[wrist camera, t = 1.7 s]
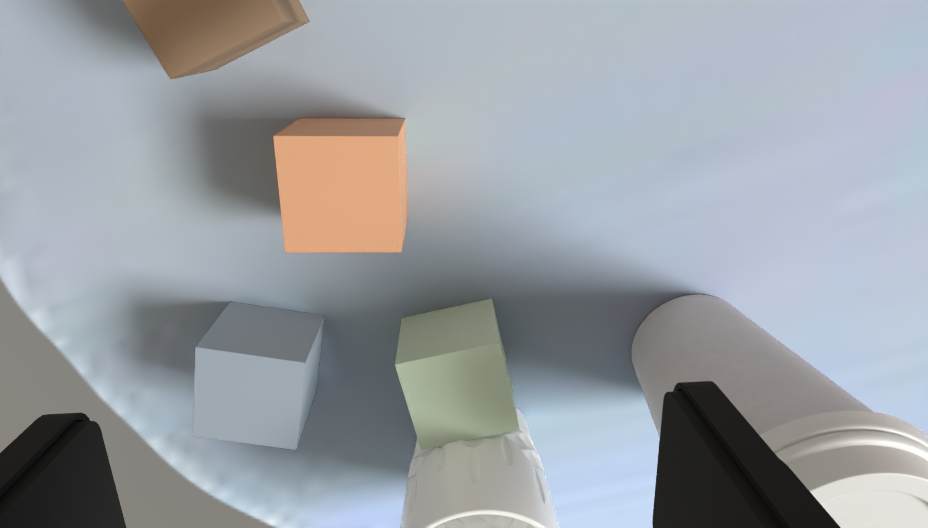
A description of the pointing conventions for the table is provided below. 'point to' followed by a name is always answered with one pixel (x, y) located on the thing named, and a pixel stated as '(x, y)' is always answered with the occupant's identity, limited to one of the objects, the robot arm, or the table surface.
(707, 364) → the coffee cup
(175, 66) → the walnut block
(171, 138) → the table surface
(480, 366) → the sage block
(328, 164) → the terracotta block
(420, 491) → the white cup
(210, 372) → the slate block
